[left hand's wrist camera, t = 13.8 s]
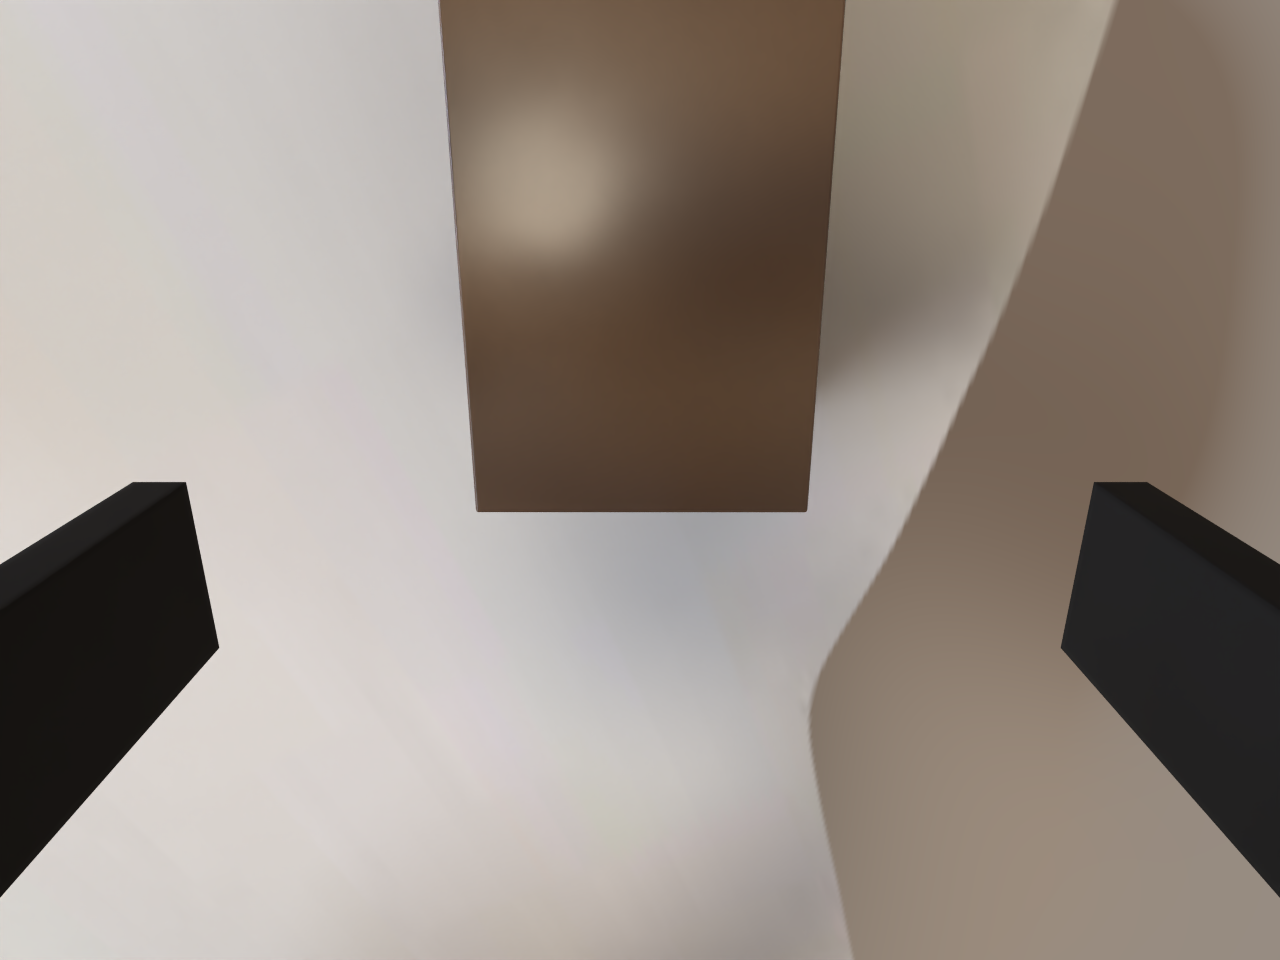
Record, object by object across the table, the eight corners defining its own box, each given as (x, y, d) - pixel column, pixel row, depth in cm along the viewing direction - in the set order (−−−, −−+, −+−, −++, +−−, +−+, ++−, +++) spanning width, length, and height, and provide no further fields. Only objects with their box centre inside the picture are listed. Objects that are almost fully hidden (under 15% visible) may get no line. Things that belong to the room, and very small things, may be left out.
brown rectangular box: (490, -132, 28) (416, -276, 19) (793, -132, 28) (867, -277, 19) (519, 421, 34) (475, 512, 25) (763, 421, 34) (807, 513, 25)
